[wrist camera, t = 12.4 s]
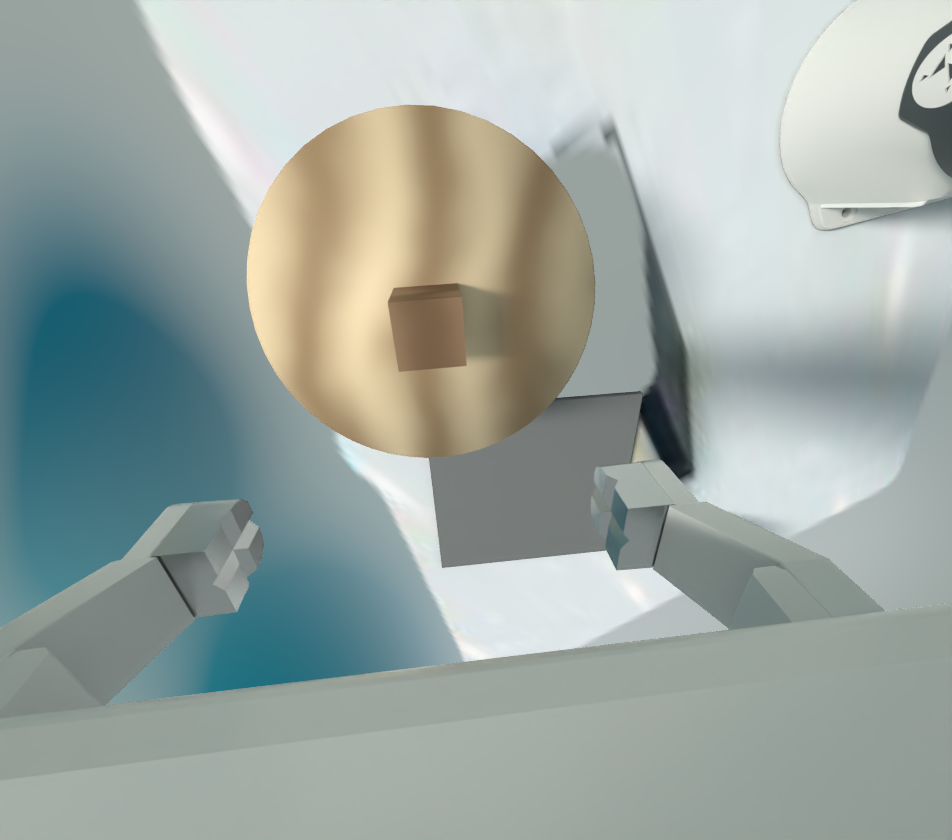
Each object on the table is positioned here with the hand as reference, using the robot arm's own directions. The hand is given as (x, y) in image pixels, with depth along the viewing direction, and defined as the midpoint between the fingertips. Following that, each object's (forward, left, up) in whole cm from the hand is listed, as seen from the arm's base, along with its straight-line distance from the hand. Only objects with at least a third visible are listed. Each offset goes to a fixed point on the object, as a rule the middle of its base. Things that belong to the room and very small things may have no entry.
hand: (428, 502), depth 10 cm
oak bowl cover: (0, 0, -20) cm, 20 cm away
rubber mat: (-10, +25, -31) cm, 41 cm away
